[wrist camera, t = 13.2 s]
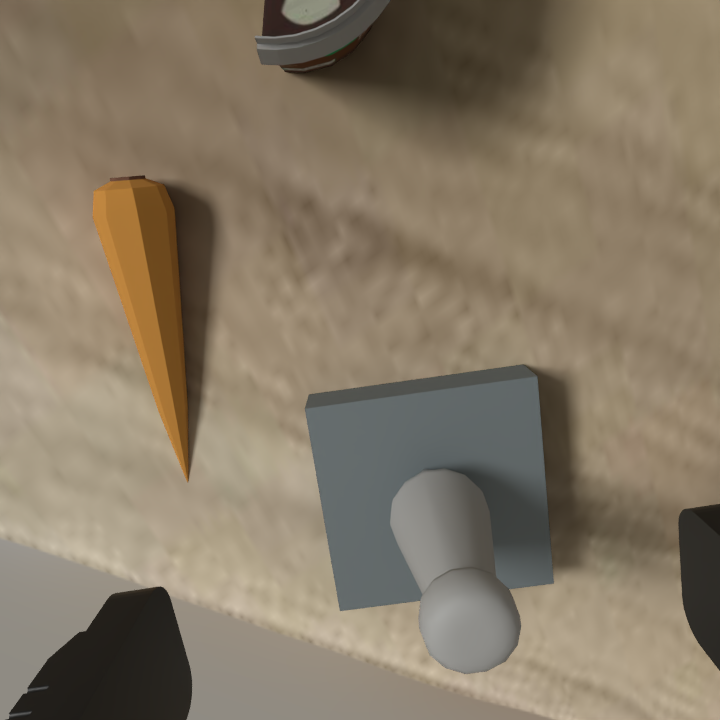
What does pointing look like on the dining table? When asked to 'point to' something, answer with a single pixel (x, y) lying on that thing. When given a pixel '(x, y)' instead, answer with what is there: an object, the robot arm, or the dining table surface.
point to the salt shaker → (455, 571)
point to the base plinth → (431, 451)
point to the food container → (314, 31)
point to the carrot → (149, 289)
